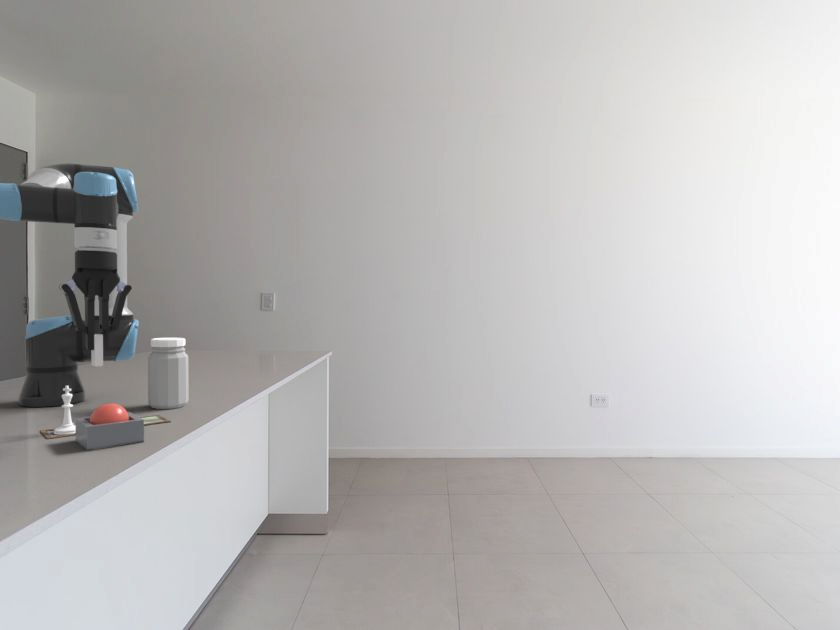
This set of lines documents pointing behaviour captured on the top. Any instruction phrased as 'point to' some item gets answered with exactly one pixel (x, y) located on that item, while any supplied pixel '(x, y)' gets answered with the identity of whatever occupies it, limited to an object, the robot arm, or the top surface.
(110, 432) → the housing
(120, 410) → the coral red ball
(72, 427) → the chess piece
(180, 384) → the jar
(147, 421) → the brown wooden flat frame
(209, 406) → the top surface
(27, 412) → the top surface
